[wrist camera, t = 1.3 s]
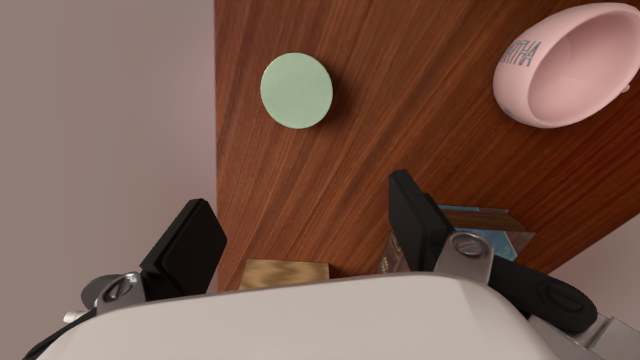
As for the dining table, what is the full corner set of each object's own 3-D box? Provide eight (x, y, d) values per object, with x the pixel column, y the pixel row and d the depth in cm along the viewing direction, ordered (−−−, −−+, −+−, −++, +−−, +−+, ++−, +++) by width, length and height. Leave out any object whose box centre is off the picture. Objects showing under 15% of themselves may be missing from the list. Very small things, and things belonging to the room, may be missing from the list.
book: (399, 201, 33) (412, 225, 29) (510, 209, 34) (538, 233, 30) (366, 292, 45) (372, 318, 41) (450, 295, 46) (464, 321, 42)
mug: (460, 103, 26) (496, 119, 21) (518, -5, 21) (584, -19, 16) (547, 125, 28) (600, 144, 23) (621, 30, 22) (710, 27, 17)
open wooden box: (250, 298, 45) (230, 378, 34) (247, 258, 39) (223, 341, 28) (319, 301, 46) (321, 379, 36) (328, 263, 40) (333, 344, 29)
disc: (265, 116, 26) (260, 124, 23) (266, 46, 22) (260, 47, 20) (325, 123, 27) (327, 132, 24) (335, 56, 23) (338, 58, 20)
